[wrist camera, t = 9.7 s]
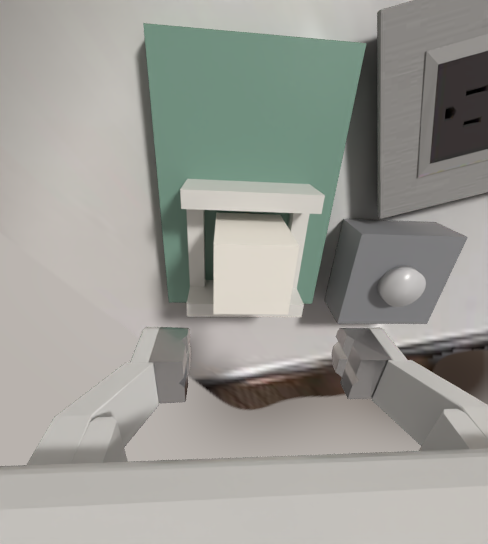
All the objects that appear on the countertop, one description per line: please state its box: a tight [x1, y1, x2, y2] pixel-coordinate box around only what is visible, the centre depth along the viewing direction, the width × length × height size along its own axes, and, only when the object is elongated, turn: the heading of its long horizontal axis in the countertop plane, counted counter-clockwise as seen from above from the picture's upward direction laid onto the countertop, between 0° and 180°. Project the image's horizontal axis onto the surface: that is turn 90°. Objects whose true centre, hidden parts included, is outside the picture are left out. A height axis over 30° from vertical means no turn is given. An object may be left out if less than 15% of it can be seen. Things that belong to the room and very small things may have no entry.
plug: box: [214, 212, 299, 315], centre depth 16 cm, size 5×4×5 cm
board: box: [143, 23, 366, 317], centre depth 16 cm, size 16×11×4 cm
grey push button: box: [325, 219, 467, 324], centre depth 20 cm, size 7×7×4 cm
